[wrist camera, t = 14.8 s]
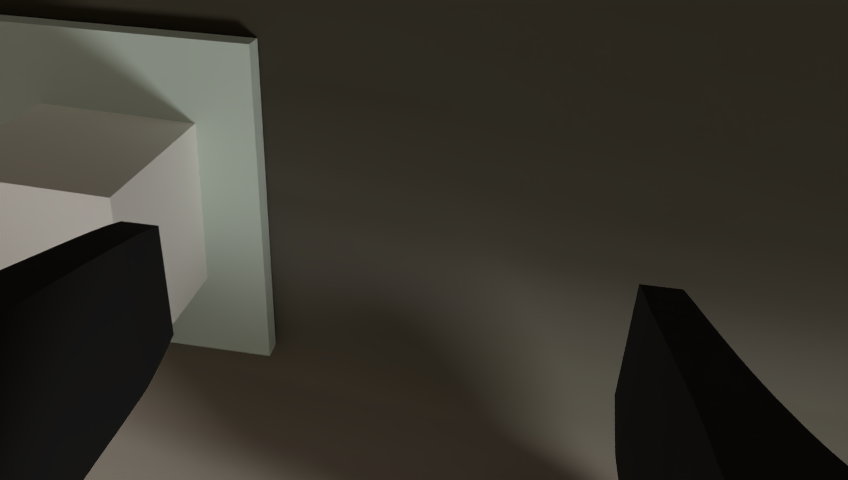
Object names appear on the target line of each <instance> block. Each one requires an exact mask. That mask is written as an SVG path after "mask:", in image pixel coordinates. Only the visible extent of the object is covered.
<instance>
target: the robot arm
mask: <svg viewBox="0 0 848 480" xmlns="http://www.w3.org/2000/svg"><path fill="white" fill-rule="evenodd" d="M173 335H174V332H173V325H172V318H171V311H170V304H169V297H168V290H167V283H166V276H165V268H164V261H163V254H162V247H161V240H160V233H159V226H157V225H149V224H140V223H132V222H124V221H120V222H117V223H113V224H110V225H107V226H104V227H101V228H99V229H96V230H93V231H91V232H88V233H86V234H83V235H81V236H78V237H76V238H74V239H71V240H69V241H66V242H64V243H62V244H59V245H57V246H55V247H52V248H50V249H48V250H46V251H43V252H41V253H39V254H36V255H34V256H32V257H29V258H27V259H25V260H22V261H20V262H18V263H15V264H13V265H11V266H8V267H6V268H4V269H1V270H0V480H84V478H85V477H86V475H87V474H88V472H89V471H90V470H91V468H92V467H93V465H94V464H95V463H96V461H97V460H98V458H99V457H100V455H101V454H102V453H103V451H104V450H105V448H106V447H107V446H108V444H109V443H110V441H111V440H112V438H113V437H114V436H115V434H116V433H117V431H118V430H119V429H120V427H121V426H122V424H123V423H124V421H125V420H126V418H127V417H128V415H129V414H130V413H131V411H132V410H133V408H134V407H135V405H136V404H137V402H138V401H139V399H140V398H141V396H142V395H143V393H144V392H145V390H146V389H147V387H148V385H149V384H150V382H151V380H152V378H153V376H154V374H155V372H156V370H157V368H158V366H159V365H160V362H161V360H162V358H163V356H164V354H165V352H166V350H167V348H168V346H169V344H170V341H171V339H172V337H173ZM615 455H616V464H617V472H618V479H619V480H848V466H847V465H846V464H845V463H844V462H843V461H842V460H840V459H839V458H838V457H837V456H836V455H835V454H833V453H832V452H831V451H830V450H829V449H828V448H827V447H826V446H824V445H823V444H822V443H821V442H820V441H819V440H818V439H817V438H816V437H815V436H814V435H813V434H811V433H810V432H809V431H808V430H807V429H806V428H805V427H804V426H803V425H802V424H801V423H800V422H799V421H798V420H797V419H796V418H795V417H794V416H793V415H792V414H791V413H790V412H789V411H788V410H787V409H786V408H785V407H784V406H783V405H782V404H781V403H780V402H779V401H778V400H777V399H776V398H775V396H774V395H773V394H772V393H771V392H770V391H769V390H768V389H767V388H766V387H765V386H764V385H763V384H762V383H761V381H760V380H759V379H758V378H757V377H756V376H755V375H754V374H753V373H752V371H751V370H750V369H749V368H748V367H747V366H746V365H745V363H744V362H743V361H742V360H741V359H740V358H739V357H738V355H737V354H736V353H735V352H734V351H733V350H732V348H731V347H730V346H729V345H728V344H727V342H726V341H725V340H724V339H723V338H722V336H721V335H720V334H719V333H718V331H717V330H716V329H715V328H714V327H713V325H712V324H711V323H710V322H709V320H708V319H707V318H706V317H705V315H704V314H703V313H702V312H701V310H700V309H699V308H698V307H697V305H696V304H695V303H694V302H693V301H692V299H691V298H690V297H689V296H688V294H687V293H686V292H685V291H684V290H682V289H674V288H665V287H657V286H649V285H641V284H639V288H638V292H637V297H636V302H635V306H634V311H633V315H632V320H631V324H630V329H629V333H628V338H627V343H626V347H625V352H624V356H623V361H622V365H621V370H620V374H619V379H618V384H617V388H616V393H615Z"/></svg>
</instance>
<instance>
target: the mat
mask: <svg viewBox="0 0 848 480" xmlns="http://www.w3.org/2000/svg"><path fill="white" fill-rule="evenodd" d="M40 103H42V104H50V105H58V106H65V107H73V108H81V109H88V110H96V111H104V112H111V113H119V114H126V115H134V116H142V117H149V118H157V119H165V120H172V121H180V122H188V123H195V127H196V139H197V152H198V164H199V177H200V189H201V202H202V214H203V227H204V239H205V252H206V264H207V277H208V278H207V279H206V281H205V282H204V283H203V285H202V286H201V287H200V289H199V290H198V291H197V293H196V294H195V295H194V297H193V298H192V299H191V301H190V302H189V303H188V305H187V306H186V307H185V309H184V310H183V311H182V313H181V314H180V315H179V317H178V318H177V319H176V321H175V322H174V323H173V332H174V335H173V337H172V339H171V341H170V342H173V343H180V344H187V345H194V346H201V347H209V348H216V349H223V350H230V351H237V352H244V353H252V354H259V355H266V356H270V355H271V353H272V351H273V349H274V347H275V345H276V341H275V324H274V308H273V291H272V275H271V258H270V242H269V225H268V209H267V192H266V176H265V159H264V143H263V126H262V110H261V93H260V77H259V60H258V44H257V38H250V37H239V36H228V35H217V34H206V33H195V32H184V31H173V30H163V29H152V28H141V27H130V26H119V25H108V24H97V23H86V22H75V21H64V20H54V19H43V18H32V17H21V16H10V15H0V126H1V125H3V124H5V123H7V122H8V121H10V120H12V119H13V118H15V117H17V116H19V115H20V114H22V113H24V112H26V111H27V110H29V109H31V108H33V107H34V106H36V105H38V104H40Z"/></svg>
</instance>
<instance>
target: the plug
mask: <svg viewBox="0 0 848 480" xmlns="http://www.w3.org/2000/svg"><path fill="white" fill-rule="evenodd" d="M120 221H124V222H132V223H140V224H149V225H157V226H159V233H160V240H161V247H162V254H163V261H164V268H165V276H166V283H167V290H168V297H169V304H170V311H171V318H172V325H173V323H174V322H175V321H176V319H177V318H178V317H179V315H180V314H181V313H182V311H183V310H184V309H185V307H186V306H187V305H188V303H189V302H190V301H191V299H192V298H193V297H194V295H195V294H196V293H197V291H198V290H199V289H200V287H201V286H202V285H203V283H204V282H205V281H206V279H207V278H208V277H207V264H206V252H205V239H204V227H203V214H202V202H201V189H200V177H199V164H198V152H197V139H196V127H195V123H188V122H180V121H172V120H165V119H157V118H149V117H142V116H134V115H126V114H119V113H111V112H104V111H96V110H88V109H81V108H73V107H65V106H58V105H50V104H42V103H40V104H38V105H36V106H34V107H33V108H31V109H29V110H27V111H26V112H24V113H22V114H20V115H19V116H17V117H15V118H13V119H12V120H10V121H8V122H7V123H5V124H3V125H1V126H0V270H1V269H4V268H6V267H8V266H11V265H13V264H15V263H18V262H20V261H22V260H25V259H27V258H29V257H32V256H34V255H36V254H39V253H41V252H43V251H46V250H48V249H50V248H52V247H55V246H57V245H59V244H62V243H64V242H66V241H69V240H71V239H74V238H76V237H78V236H81V235H83V234H86V233H88V232H91V231H93V230H96V229H99V228H101V227H104V226H107V225H110V224H113V223H117V222H120Z"/></svg>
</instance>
